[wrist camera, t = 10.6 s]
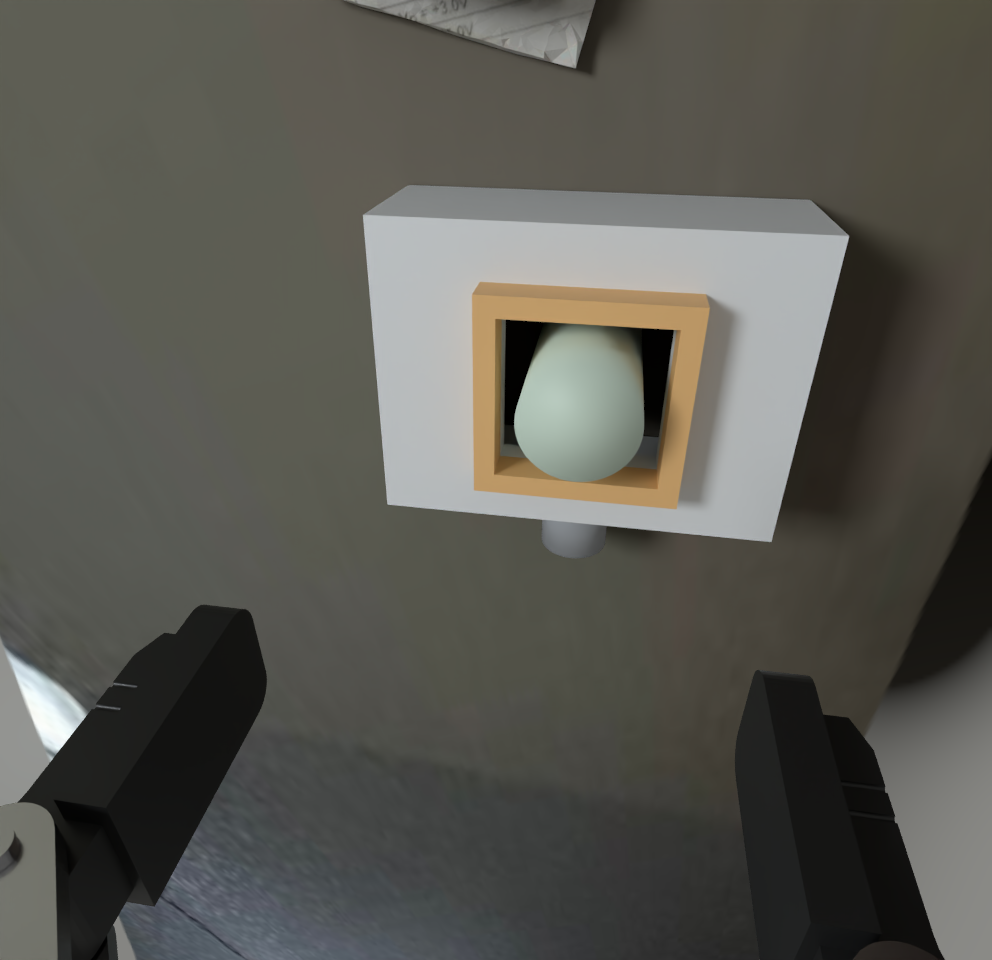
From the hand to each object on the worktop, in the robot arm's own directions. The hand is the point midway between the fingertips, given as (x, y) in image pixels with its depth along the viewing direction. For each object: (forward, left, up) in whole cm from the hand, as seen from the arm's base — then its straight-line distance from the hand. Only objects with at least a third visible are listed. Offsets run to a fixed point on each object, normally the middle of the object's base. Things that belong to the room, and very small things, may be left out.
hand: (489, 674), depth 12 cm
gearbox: (+4, +1, -23) cm, 23 cm away
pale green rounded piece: (+3, +1, -23) cm, 23 cm away
